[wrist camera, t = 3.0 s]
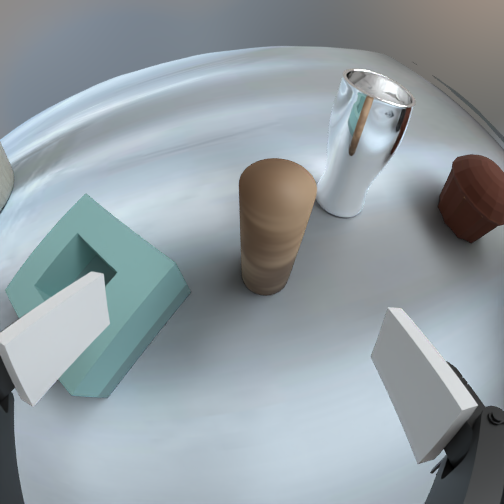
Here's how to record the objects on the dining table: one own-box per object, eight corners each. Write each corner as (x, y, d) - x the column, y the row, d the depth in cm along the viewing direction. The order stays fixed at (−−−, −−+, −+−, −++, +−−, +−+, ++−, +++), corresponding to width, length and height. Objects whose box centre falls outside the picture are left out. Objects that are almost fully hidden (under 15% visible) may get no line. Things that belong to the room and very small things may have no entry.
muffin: (446, 176, 34) (474, 132, 25) (491, 224, 30) (525, 186, 21) (418, 207, 30) (455, 153, 21) (472, 266, 26) (520, 224, 17)
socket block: (190, 292, 24) (175, 263, 19) (107, 397, 19) (71, 395, 14) (108, 227, 28) (85, 193, 22) (38, 310, 22) (5, 290, 17)
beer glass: (322, 225, 28) (366, 102, 15) (303, 178, 31) (326, 63, 18) (375, 217, 29) (433, 113, 16) (352, 174, 32) (389, 73, 19)
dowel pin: (297, 267, 26) (328, 179, 15) (272, 304, 24) (293, 229, 13) (258, 244, 27) (266, 149, 16) (232, 278, 25) (222, 191, 15)
